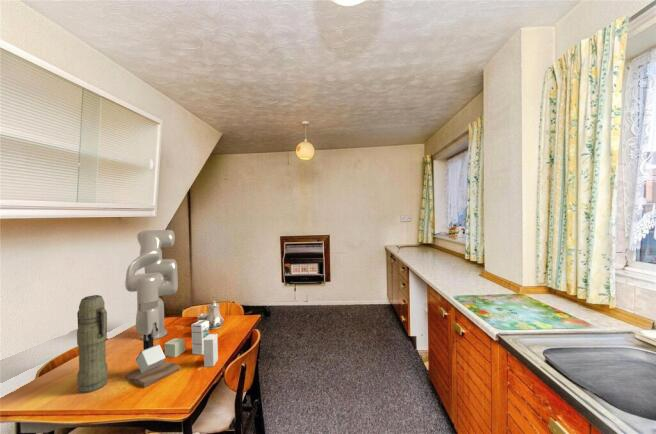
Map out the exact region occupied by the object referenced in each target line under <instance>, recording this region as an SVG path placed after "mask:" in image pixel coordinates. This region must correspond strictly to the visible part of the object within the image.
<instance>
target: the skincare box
mask: <svg viewBox="0 0 656 434" xmlns="http://www.w3.org/2000/svg"><path fill="white" fill-rule="evenodd" d="M218 344H219V342H218V334H217V333H209V334H208V335H207V337H206V338H205V339H204V354H203V363H204V365H203V366H204V368H210V367H211V368H212V367H215V365H216V364H217V361H218V360H219V353H218V352H219V346H218Z"/></svg>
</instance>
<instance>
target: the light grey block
mask: <svg viewBox="0 0 656 434" xmlns="http://www.w3.org/2000/svg"><path fill="white" fill-rule="evenodd" d="M166 358H167V356H165V352H163V349H162V347H161V345H160V343H158V344H155V345H153V346H152V347H150V348H147V349H145V350H144V349H143V350H141V351H140V352H139V354H138V355H137V357H136V359H135V362H136V364H137V367H138V370H139V369H140V371H141V374H143V373H145V372H147V371H149V370H152V369H154V368H156V367H158V366H160V365H161V364H162V363H163V361H164V362H165V360H166Z"/></svg>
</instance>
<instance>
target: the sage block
mask: <svg viewBox="0 0 656 434" xmlns="http://www.w3.org/2000/svg"><path fill="white" fill-rule="evenodd" d="M185 342H186V340H185V339H184V338H176V337H175V338H173V339H171V340H168V341H167V342H165V343H164V355H165V357H170V358H176V357H178V356H180V355H181V354H183V353H184V352H185V351H186V349H185V347H186V346H185V345H186V344H185Z"/></svg>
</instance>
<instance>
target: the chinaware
mask: <svg viewBox="0 0 656 434" xmlns="http://www.w3.org/2000/svg"><path fill="white" fill-rule="evenodd" d="M196 318H197V319H198V320H197V321H199V320H207V321H209V331H211V330H213V329H214V330H218V329H220V328H222V327H223V324H224V322H225V319H224V318H223V317H222V315H221V312H220V303H219V302H217V301H216V300H215V299H213V300H212V302H211V303H210V304H208V312H205V313H199V314H198V315H196ZM214 330H213V331H214Z"/></svg>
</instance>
